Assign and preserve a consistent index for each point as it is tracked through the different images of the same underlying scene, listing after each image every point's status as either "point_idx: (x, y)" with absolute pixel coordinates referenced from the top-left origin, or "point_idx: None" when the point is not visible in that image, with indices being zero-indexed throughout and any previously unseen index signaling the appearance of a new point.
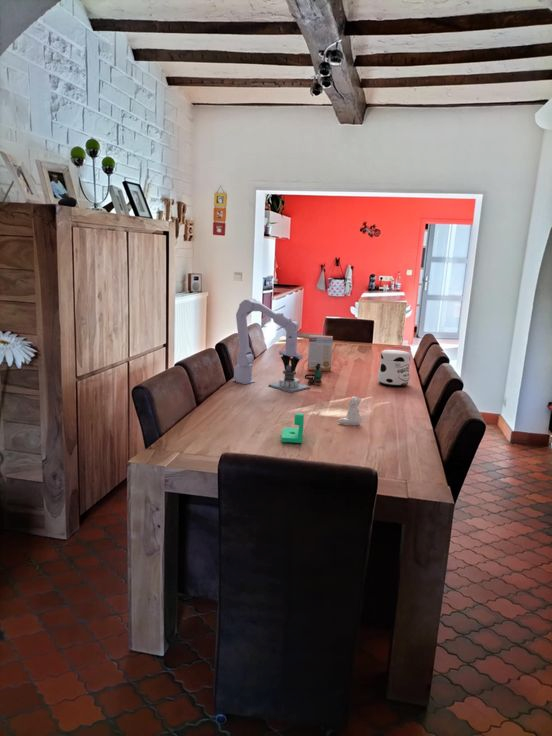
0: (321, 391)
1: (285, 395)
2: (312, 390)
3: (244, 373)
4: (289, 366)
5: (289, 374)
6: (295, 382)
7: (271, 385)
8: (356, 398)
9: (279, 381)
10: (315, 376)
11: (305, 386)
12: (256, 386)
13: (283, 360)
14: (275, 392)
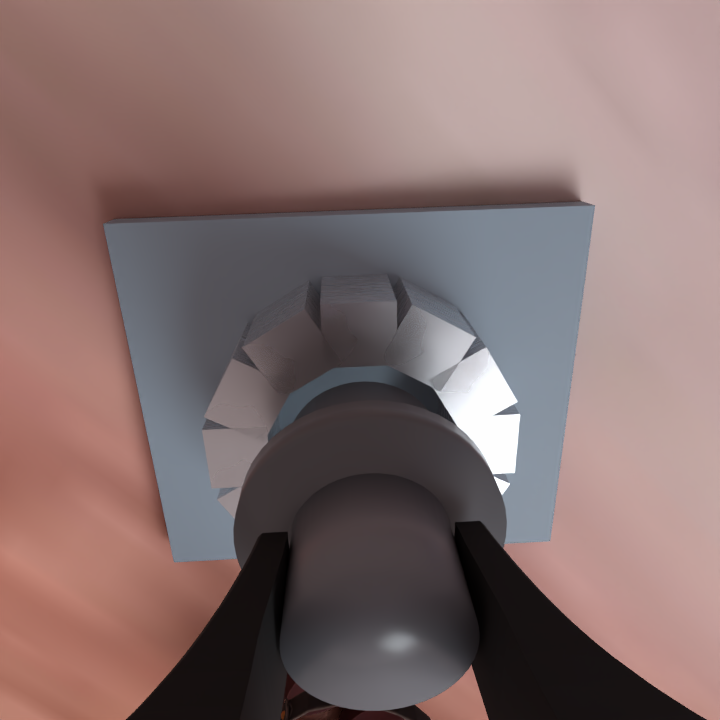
0: (5, 563)
1: (13, 10)
2: (88, 517)
3: None
4: (324, 593)
5: (272, 439)
6: (206, 430)
7: (531, 206)
8: None
9: (465, 323)
10: None
11: (202, 530)
12: (713, 15)
13: (593, 687)
14: (249, 6)
